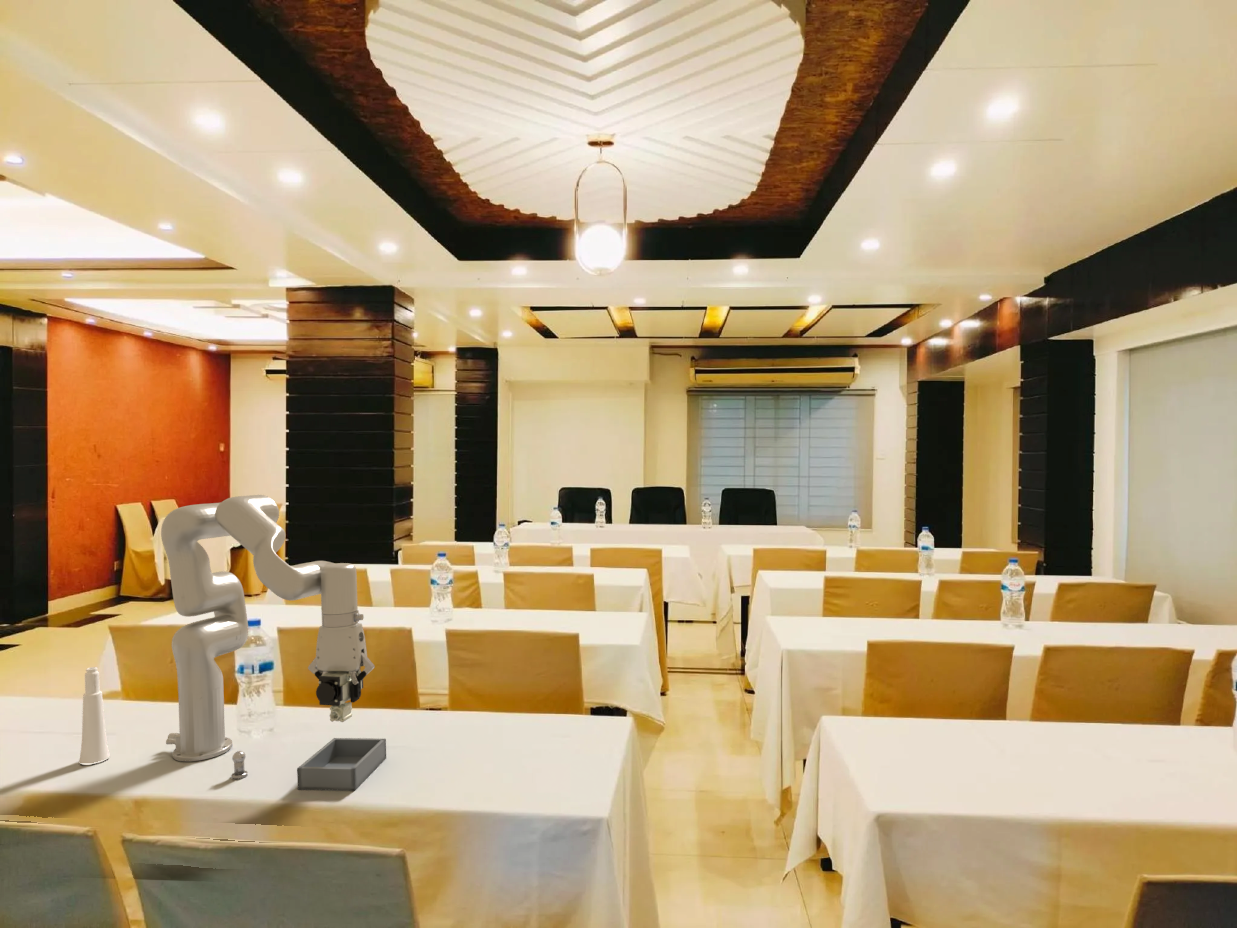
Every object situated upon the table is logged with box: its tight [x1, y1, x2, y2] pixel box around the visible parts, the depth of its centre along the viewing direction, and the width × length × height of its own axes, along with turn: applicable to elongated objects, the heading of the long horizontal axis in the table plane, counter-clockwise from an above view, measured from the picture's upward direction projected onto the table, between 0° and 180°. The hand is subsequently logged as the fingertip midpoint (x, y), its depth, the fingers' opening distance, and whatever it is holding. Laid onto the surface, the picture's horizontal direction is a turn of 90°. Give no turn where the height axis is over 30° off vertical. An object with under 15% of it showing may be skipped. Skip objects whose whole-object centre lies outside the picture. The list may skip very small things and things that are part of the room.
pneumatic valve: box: [315, 669, 364, 723], centre depth 164 cm, size 6×12×12 cm, turn 169°
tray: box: [296, 737, 387, 792], centre depth 164 cm, size 13×17×5 cm
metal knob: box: [230, 750, 249, 781], centre depth 163 cm, size 3×3×6 cm
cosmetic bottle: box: [78, 666, 111, 763], centre depth 174 cm, size 6×6×22 cm
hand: (342, 699), depth 164 cm, fingers closed on pneumatic valve, 5 cm apart
